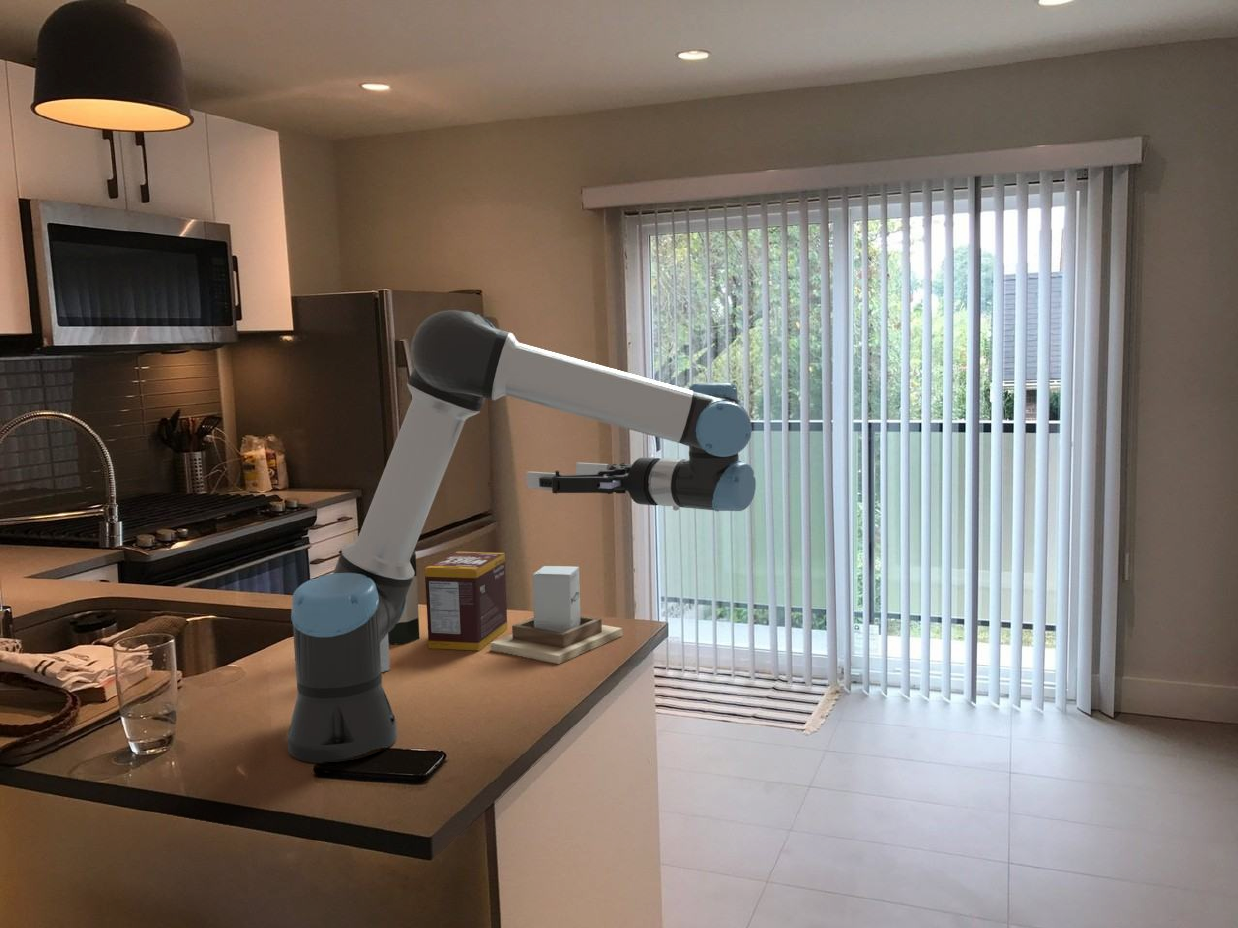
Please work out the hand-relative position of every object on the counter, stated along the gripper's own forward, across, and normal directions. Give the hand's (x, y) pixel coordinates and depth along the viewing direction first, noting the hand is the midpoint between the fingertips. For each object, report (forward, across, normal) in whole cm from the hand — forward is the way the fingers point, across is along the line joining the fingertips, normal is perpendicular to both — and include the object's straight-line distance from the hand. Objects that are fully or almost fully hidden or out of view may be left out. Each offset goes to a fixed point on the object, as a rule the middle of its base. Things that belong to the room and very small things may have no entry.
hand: (553, 475), depth 170 cm
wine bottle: (+39, -1, -34) cm, 52 cm away
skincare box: (+29, -17, -34) cm, 48 cm away
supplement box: (+27, +6, -34) cm, 44 cm away
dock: (+10, +12, -34) cm, 37 cm away
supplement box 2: (+10, +12, -33) cm, 36 cm away
